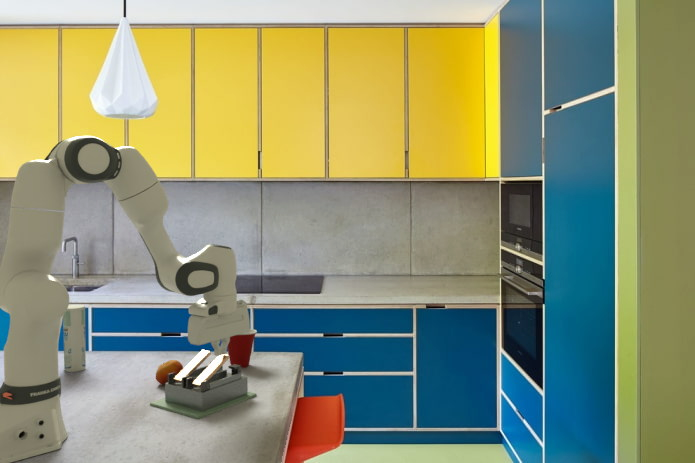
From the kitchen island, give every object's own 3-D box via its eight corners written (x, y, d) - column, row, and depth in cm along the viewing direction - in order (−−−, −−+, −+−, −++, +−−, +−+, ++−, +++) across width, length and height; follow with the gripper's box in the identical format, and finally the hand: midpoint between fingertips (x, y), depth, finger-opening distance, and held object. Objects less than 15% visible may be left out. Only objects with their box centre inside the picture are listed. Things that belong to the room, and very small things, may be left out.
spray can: (88, 369, 204) (87, 307, 202) (66, 373, 200) (64, 309, 199) (83, 365, 209) (82, 304, 208) (62, 368, 206) (60, 305, 204)
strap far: (182, 383, 171) (180, 380, 170) (174, 381, 172) (173, 378, 172) (210, 353, 179) (209, 351, 179) (203, 352, 181) (202, 349, 180)
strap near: (200, 388, 167) (199, 385, 167) (193, 386, 169) (191, 383, 168) (229, 357, 176) (228, 355, 175) (221, 356, 177) (220, 353, 177)
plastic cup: (264, 364, 212) (264, 328, 211) (241, 372, 203) (241, 334, 202) (239, 359, 218) (239, 324, 217) (216, 366, 209) (216, 330, 208)
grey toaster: (202, 412, 165) (202, 381, 165) (165, 401, 173) (164, 372, 172) (247, 394, 179) (247, 366, 179) (211, 385, 187) (211, 358, 186)
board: (197, 419, 162) (197, 416, 162) (150, 405, 172) (150, 402, 172) (256, 395, 180) (256, 393, 180) (210, 384, 190) (210, 382, 190)
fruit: (182, 384, 186) (168, 359, 186) (160, 396, 187) (147, 372, 188) (194, 376, 193) (181, 352, 194) (173, 387, 195) (160, 364, 195)
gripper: (238, 297, 184) (238, 345, 185) (183, 308, 167) (184, 361, 168) (254, 299, 181) (255, 348, 182) (200, 311, 163) (201, 365, 164)
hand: (220, 354), depth 175 cm, fingers closed
